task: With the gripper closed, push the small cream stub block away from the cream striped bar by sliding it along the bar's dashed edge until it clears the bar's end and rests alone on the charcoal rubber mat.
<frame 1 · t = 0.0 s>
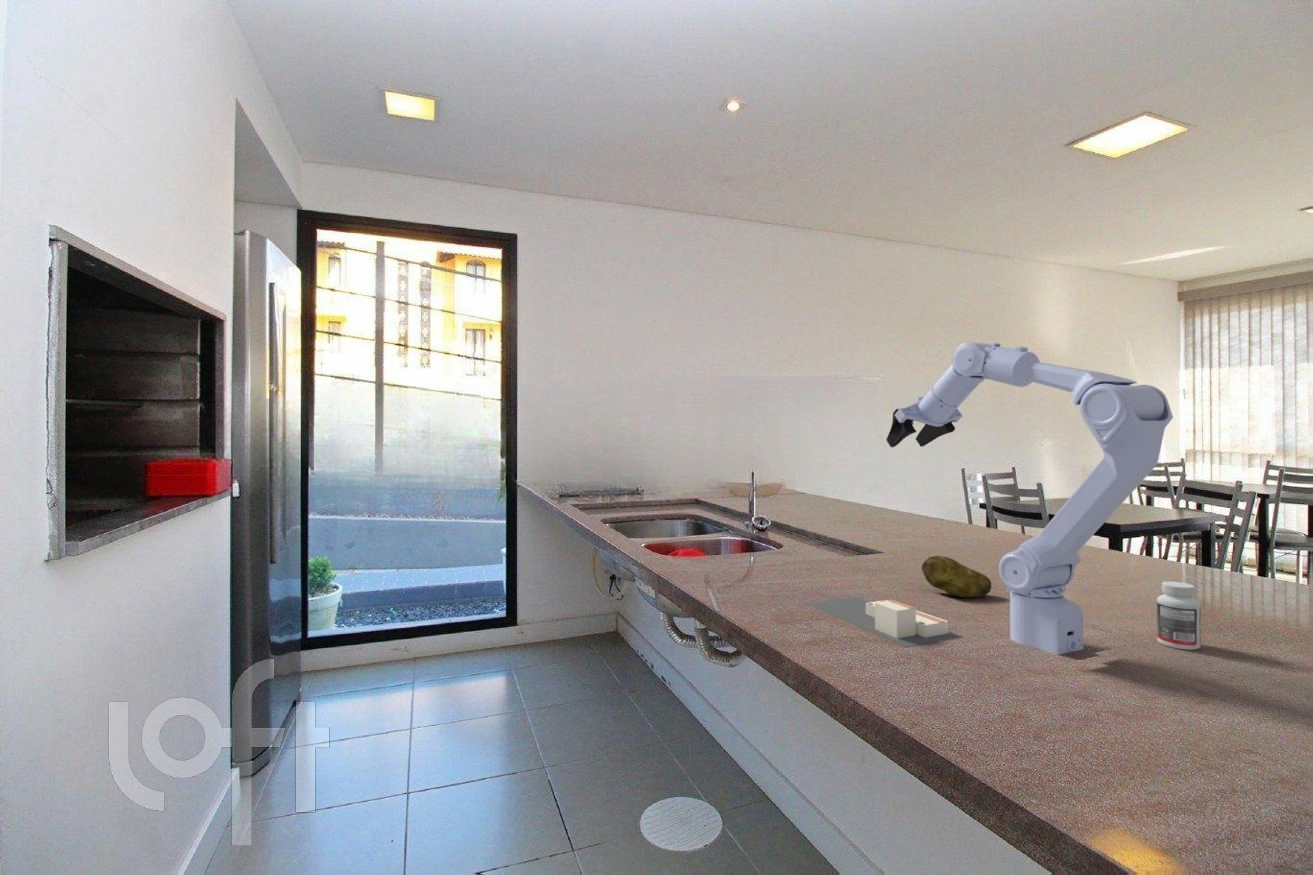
hand: (904, 443, 123), 32 cm above the countertop, tool tilted 50°, fingers open, 7 cm apart
cream striped bar: (904, 623, 107), resting on mat
pill bottle: (1178, 645, 98), on the countertop
mat: (877, 625, 109), on the countertop
stub: (895, 632, 102), point 1 cm above the countertop, touching mat
potato: (955, 596, 129), on the countertop
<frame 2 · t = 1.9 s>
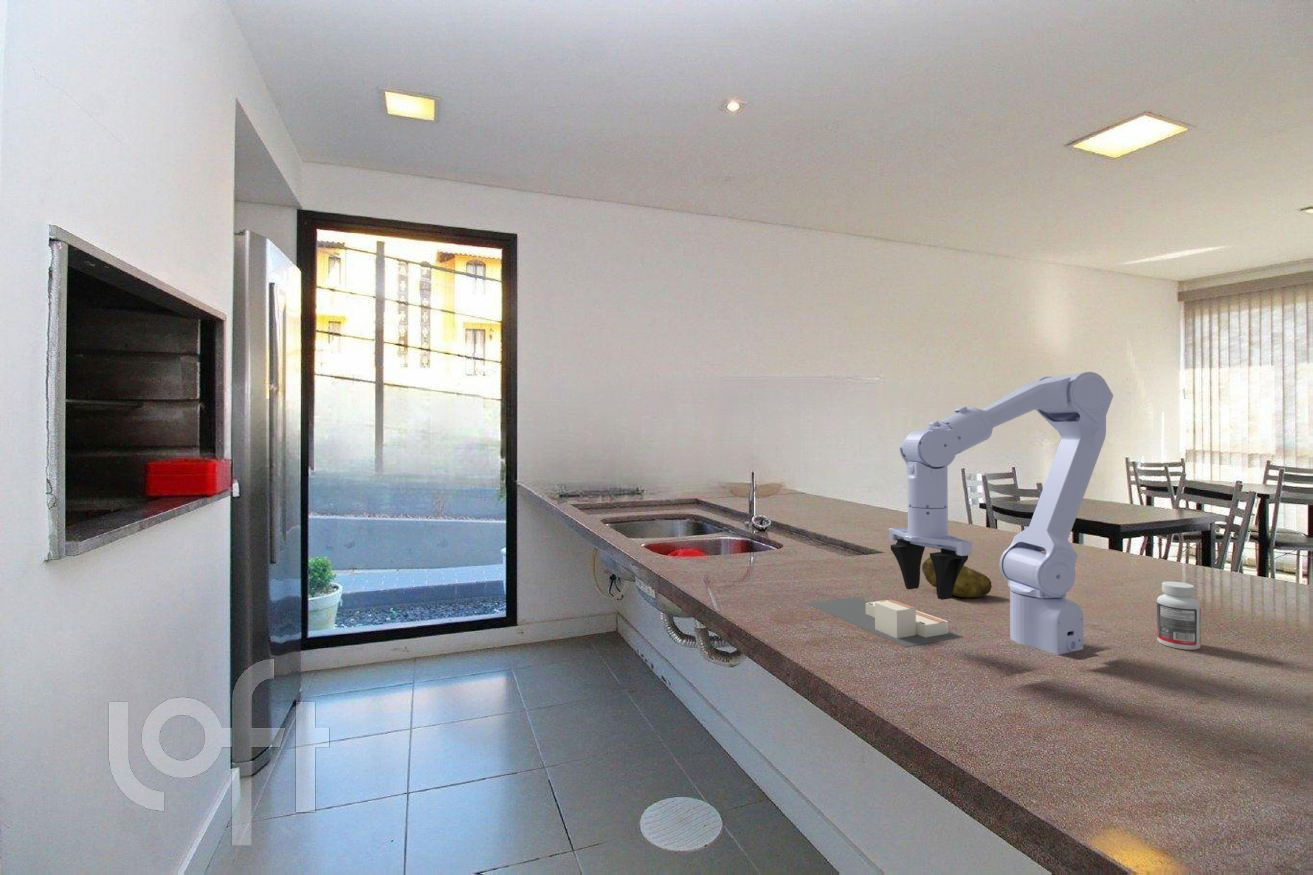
hand: (927, 593, 95), 9 cm above the countertop, tool pointing down, fingers open, 6 cm apart
nothing on the countertop moved.
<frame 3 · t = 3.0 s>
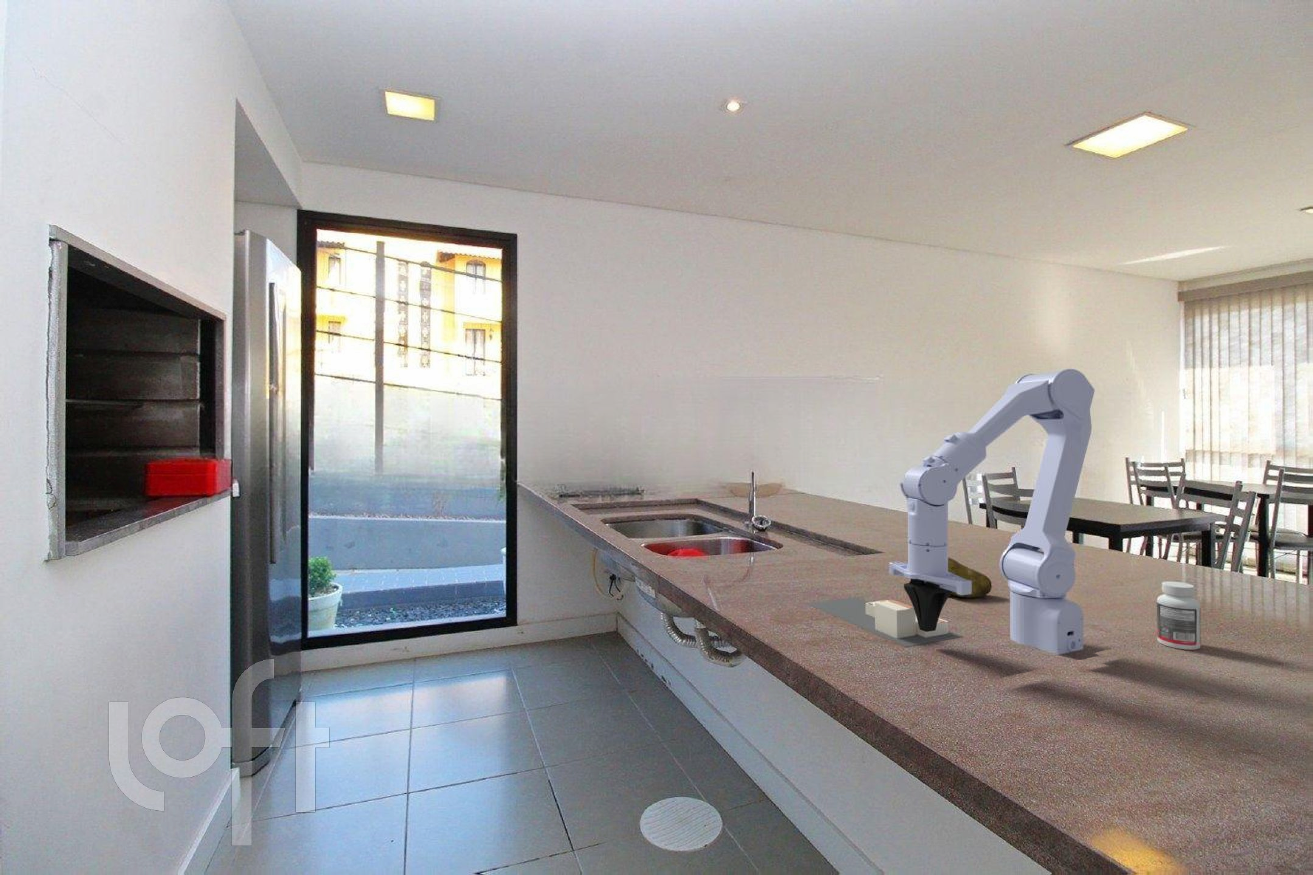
hand: (927, 629, 95), 4 cm above the countertop, tool pointing down, fingers closed
nothing on the countertop moved.
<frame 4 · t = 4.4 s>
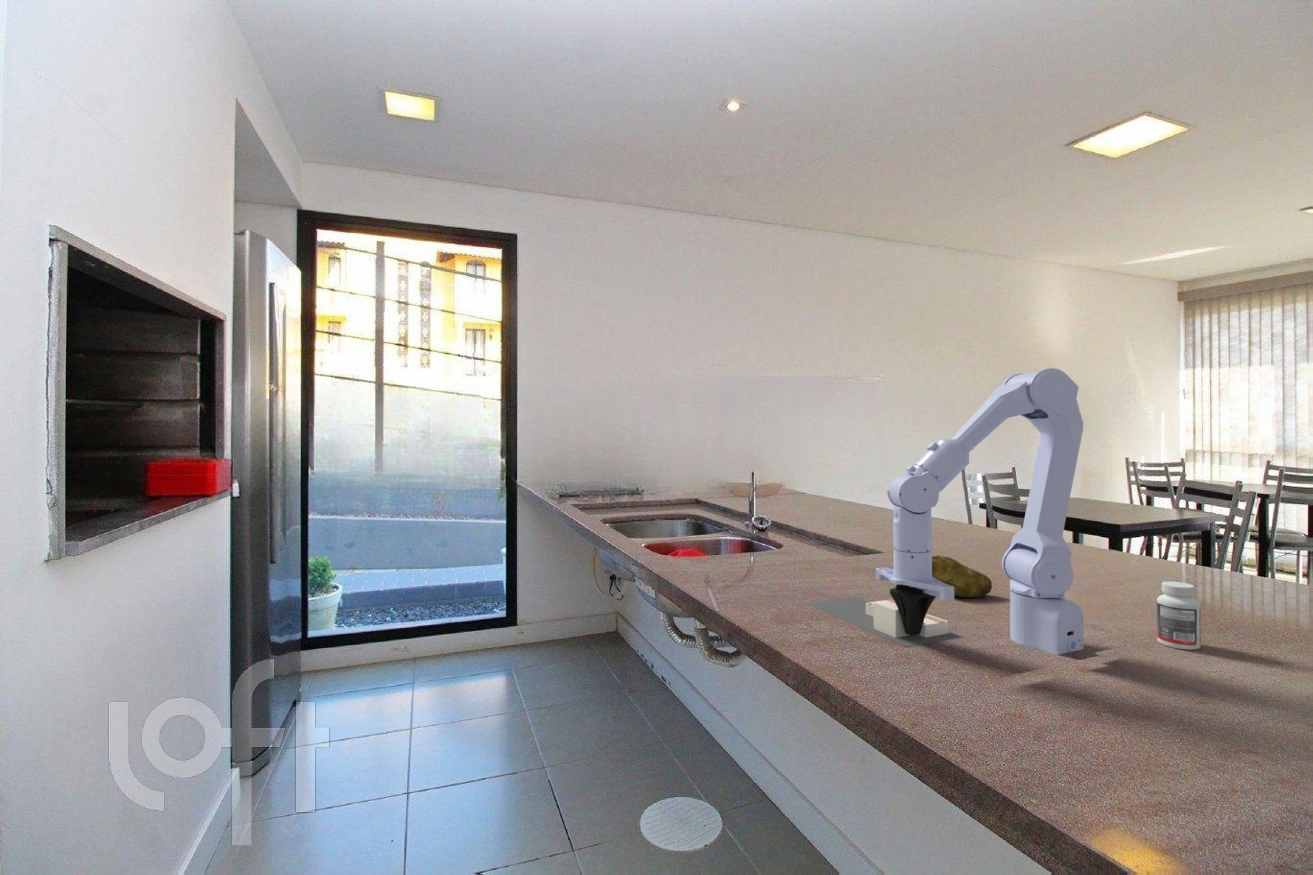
hand: (912, 633, 98), 2 cm above the countertop, tool pointing down, fingers closed
stub: (893, 631, 102), point 1 cm above the countertop, touching gripper
everything else where it was.
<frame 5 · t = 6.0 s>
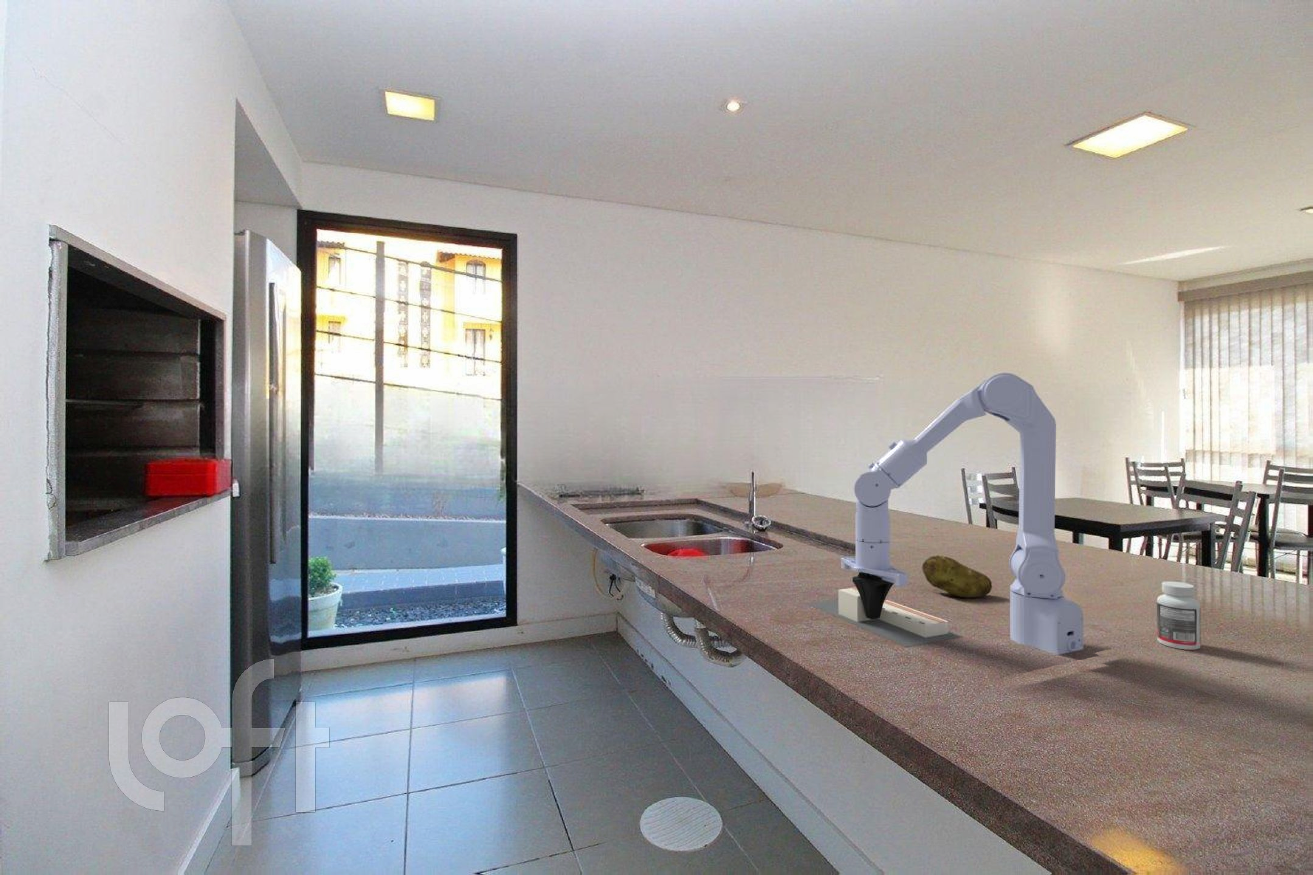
hand: (873, 617, 107), 2 cm above the countertop, tool pointing down, fingers closed
stub: (856, 616, 110), point 1 cm above the countertop, touching gripper
everything else where it was.
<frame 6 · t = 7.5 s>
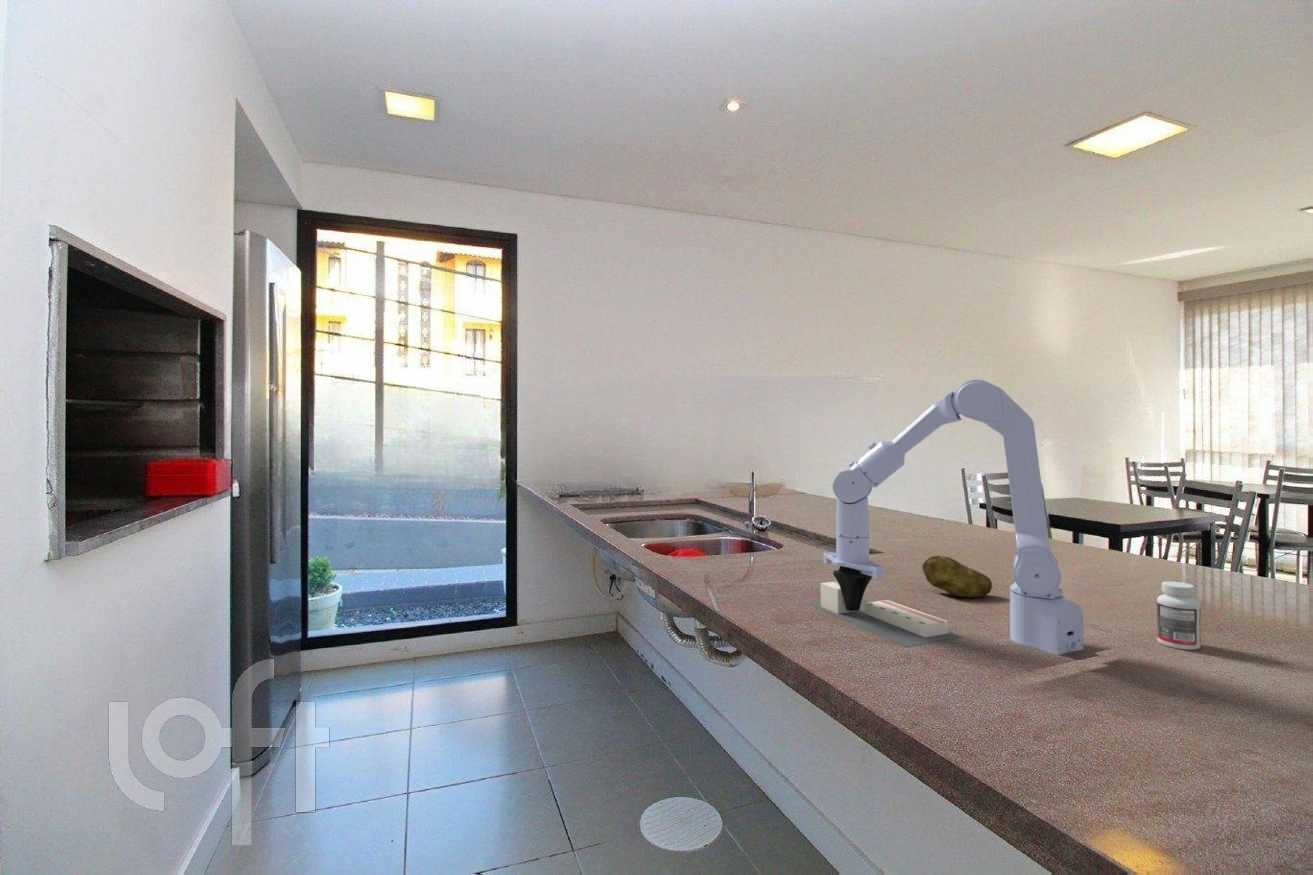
hand: (852, 609, 112), 2 cm above the countertop, tool pointing down, fingers closed
stub: (837, 608, 115), point 1 cm above the countertop, touching gripper, mat
everything else where it was.
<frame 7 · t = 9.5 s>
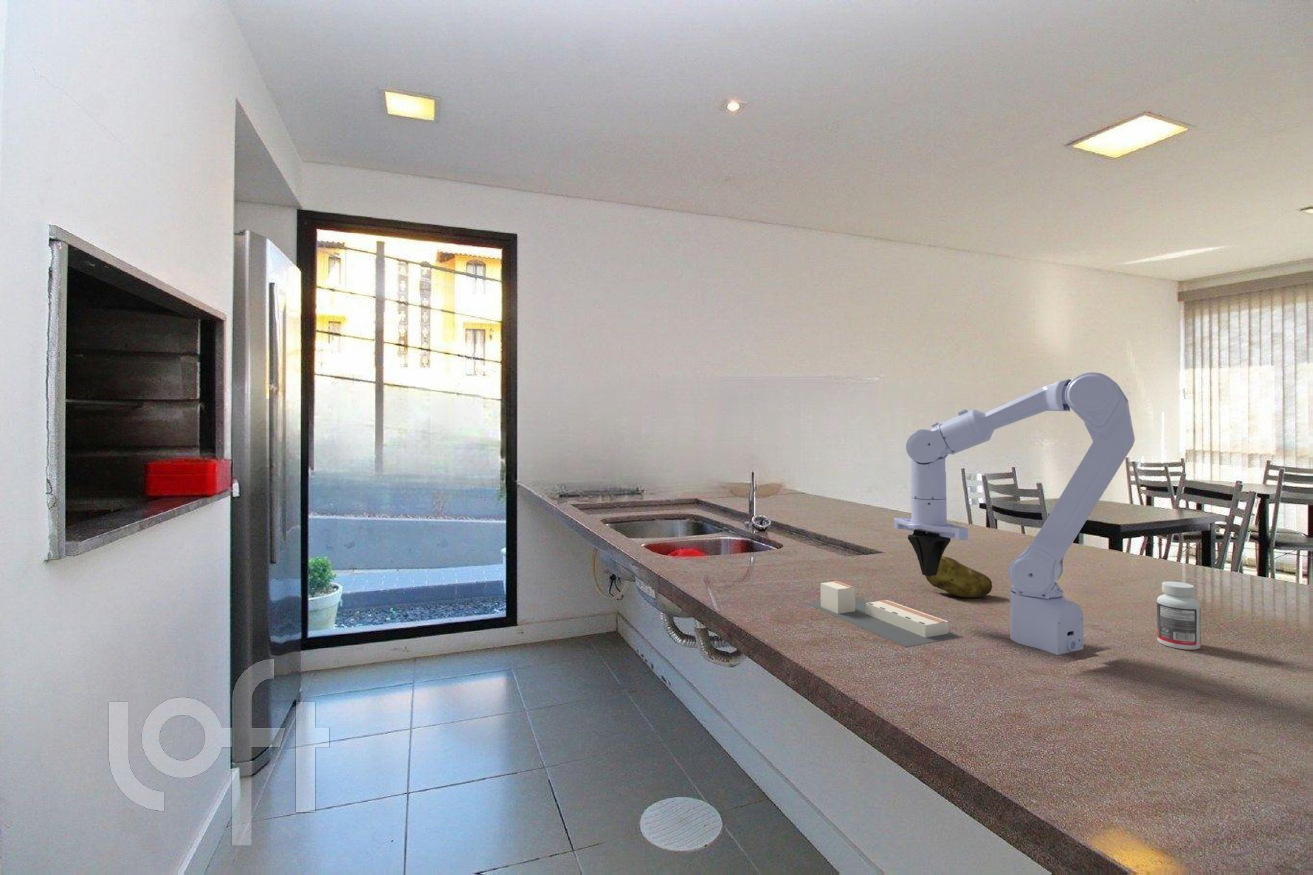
hand: (929, 574, 108), 9 cm above the countertop, tool pointing down, fingers closed
stub: (837, 608, 115), point 1 cm above the countertop, touching mat
everything else where it was.
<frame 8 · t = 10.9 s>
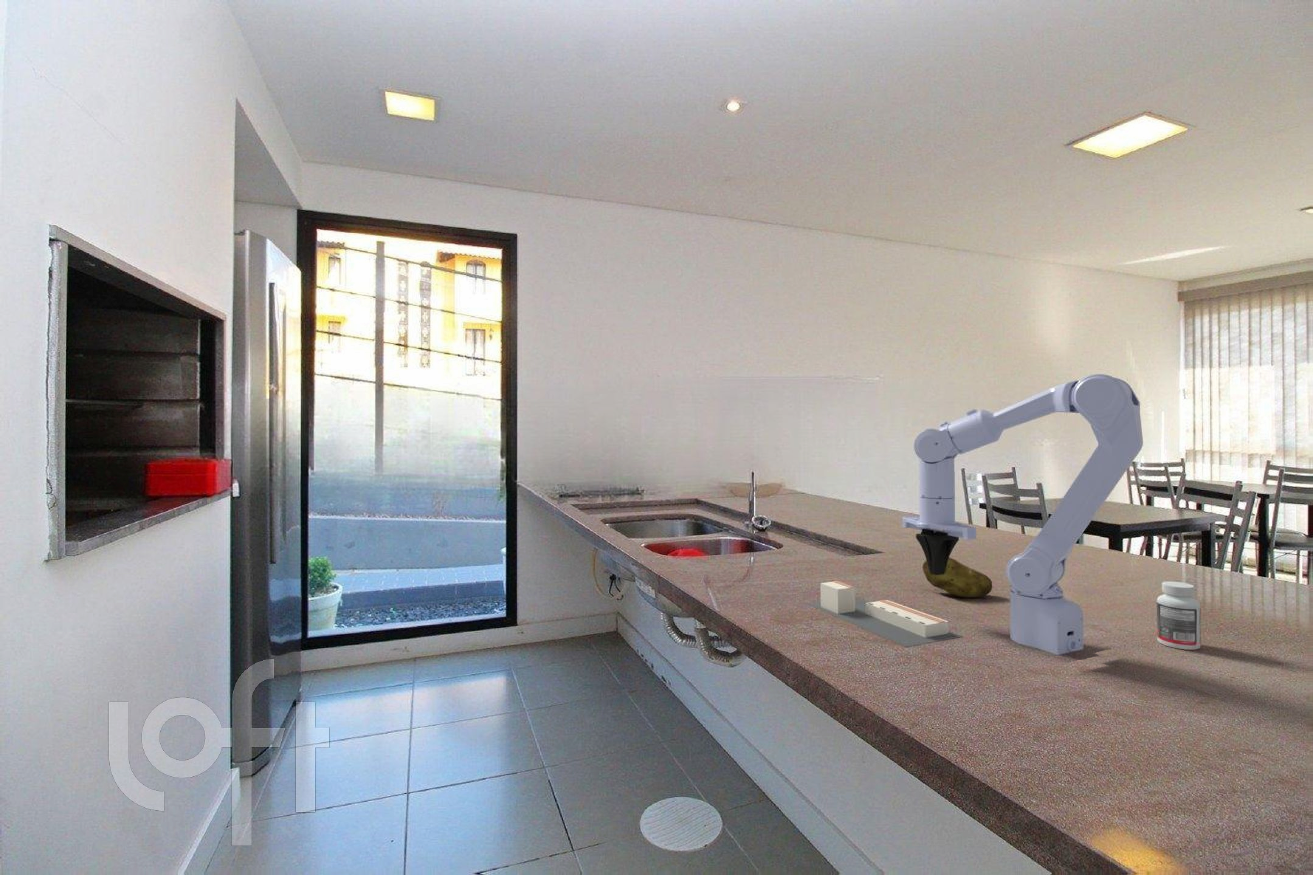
hand: (937, 573, 108), 9 cm above the countertop, tool pointing down, fingers closed
nothing on the countertop moved.
at the end: stub inside the target area (1.7 cm from its centre), point 1.2 cm above the countertop; stub touching mat; stub tilted 0° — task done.
